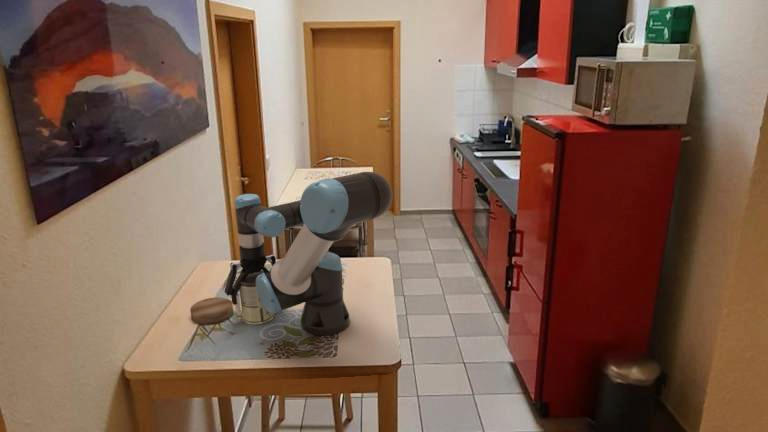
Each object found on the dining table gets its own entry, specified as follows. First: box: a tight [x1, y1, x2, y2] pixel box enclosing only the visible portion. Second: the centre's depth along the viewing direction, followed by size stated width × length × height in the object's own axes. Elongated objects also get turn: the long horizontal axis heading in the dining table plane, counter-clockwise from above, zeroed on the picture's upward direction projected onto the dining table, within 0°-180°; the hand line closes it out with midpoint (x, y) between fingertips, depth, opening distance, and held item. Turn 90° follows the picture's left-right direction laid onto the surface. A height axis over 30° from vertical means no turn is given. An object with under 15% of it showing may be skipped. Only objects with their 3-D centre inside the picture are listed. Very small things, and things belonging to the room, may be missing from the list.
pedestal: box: [189, 296, 234, 325], centre depth 172 cm, size 13×13×3 cm
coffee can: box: [239, 270, 276, 325], centre depth 169 cm, size 10×10×14 cm
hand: (257, 307), depth 170 cm, fingers open, 12 cm apart
